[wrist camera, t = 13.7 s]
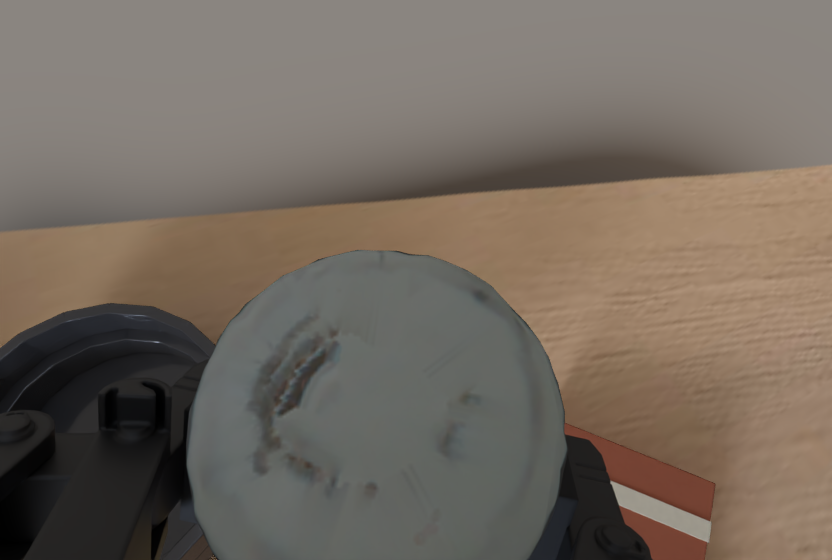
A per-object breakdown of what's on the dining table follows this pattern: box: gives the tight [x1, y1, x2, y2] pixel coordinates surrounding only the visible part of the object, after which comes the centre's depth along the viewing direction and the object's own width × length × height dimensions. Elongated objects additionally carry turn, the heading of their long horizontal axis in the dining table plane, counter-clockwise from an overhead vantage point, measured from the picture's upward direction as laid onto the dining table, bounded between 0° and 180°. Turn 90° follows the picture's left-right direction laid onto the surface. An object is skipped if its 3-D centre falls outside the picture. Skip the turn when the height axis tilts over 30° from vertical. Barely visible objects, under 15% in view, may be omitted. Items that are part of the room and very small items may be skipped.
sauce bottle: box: [186, 250, 569, 560], centre depth 14 cm, size 6×6×20 cm
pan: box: [0, 303, 216, 560], centre depth 27 cm, size 14×14×5 cm
